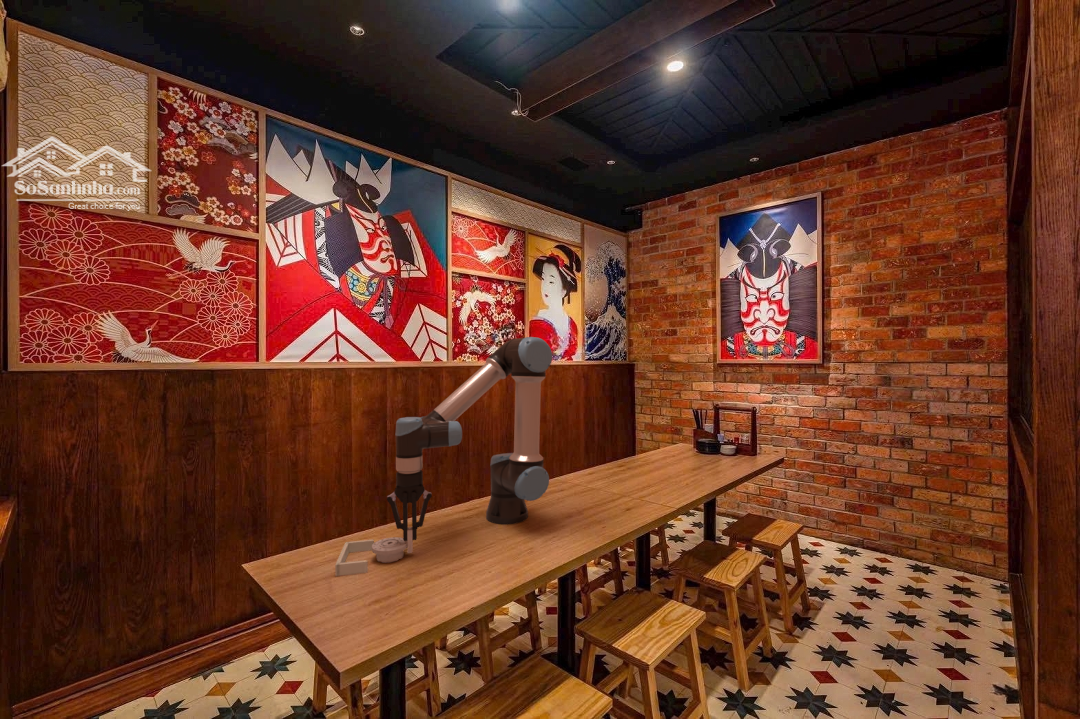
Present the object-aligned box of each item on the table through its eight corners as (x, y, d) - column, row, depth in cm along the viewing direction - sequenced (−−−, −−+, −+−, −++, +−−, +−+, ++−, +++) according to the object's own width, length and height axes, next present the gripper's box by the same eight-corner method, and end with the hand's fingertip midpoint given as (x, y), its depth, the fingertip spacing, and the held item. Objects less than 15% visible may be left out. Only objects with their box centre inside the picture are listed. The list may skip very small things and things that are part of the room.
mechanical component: (378, 536, 138) (411, 535, 138) (378, 551, 138) (411, 550, 138) (366, 550, 128) (402, 549, 128) (366, 566, 128) (402, 565, 128)
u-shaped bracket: (373, 549, 139) (373, 539, 139) (367, 572, 124) (367, 561, 124) (345, 552, 137) (345, 542, 137) (335, 576, 122) (335, 565, 122)
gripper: (431, 466, 139) (432, 543, 139) (387, 469, 136) (387, 548, 136) (432, 471, 132) (433, 553, 132) (385, 475, 129) (385, 559, 129)
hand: (410, 551), depth 134 cm, fingers closed
